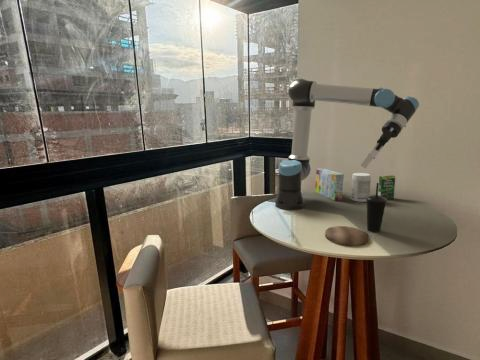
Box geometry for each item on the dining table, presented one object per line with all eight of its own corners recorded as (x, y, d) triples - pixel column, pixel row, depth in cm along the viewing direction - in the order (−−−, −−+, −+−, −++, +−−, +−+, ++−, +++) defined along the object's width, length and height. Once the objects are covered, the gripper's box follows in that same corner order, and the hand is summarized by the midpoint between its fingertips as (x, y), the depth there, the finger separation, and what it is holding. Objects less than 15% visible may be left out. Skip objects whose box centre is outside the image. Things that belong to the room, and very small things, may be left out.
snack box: (342, 200, 164) (344, 173, 161) (334, 201, 162) (335, 174, 159) (322, 191, 184) (323, 167, 181) (314, 192, 182) (315, 168, 179)
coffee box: (379, 199, 164) (381, 176, 161) (377, 198, 167) (379, 175, 164) (393, 199, 164) (396, 176, 161) (391, 197, 167) (393, 175, 164)
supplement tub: (372, 199, 164) (374, 174, 161) (364, 203, 157) (366, 176, 154) (355, 196, 171) (357, 171, 167) (347, 200, 164) (349, 174, 161)
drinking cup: (379, 226, 124) (384, 181, 120) (386, 234, 117) (391, 185, 112) (361, 226, 125) (364, 180, 121) (367, 233, 118) (370, 185, 113)
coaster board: (329, 245, 107) (330, 241, 107) (321, 229, 123) (321, 225, 122) (375, 246, 106) (375, 242, 105) (361, 229, 121) (361, 226, 121)
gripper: (413, 117, 120) (384, 156, 117) (391, 141, 144) (367, 174, 141) (396, 108, 122) (367, 146, 119) (377, 133, 146) (353, 166, 143)
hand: (367, 161), depth 130 cm, fingers open, 13 cm apart
